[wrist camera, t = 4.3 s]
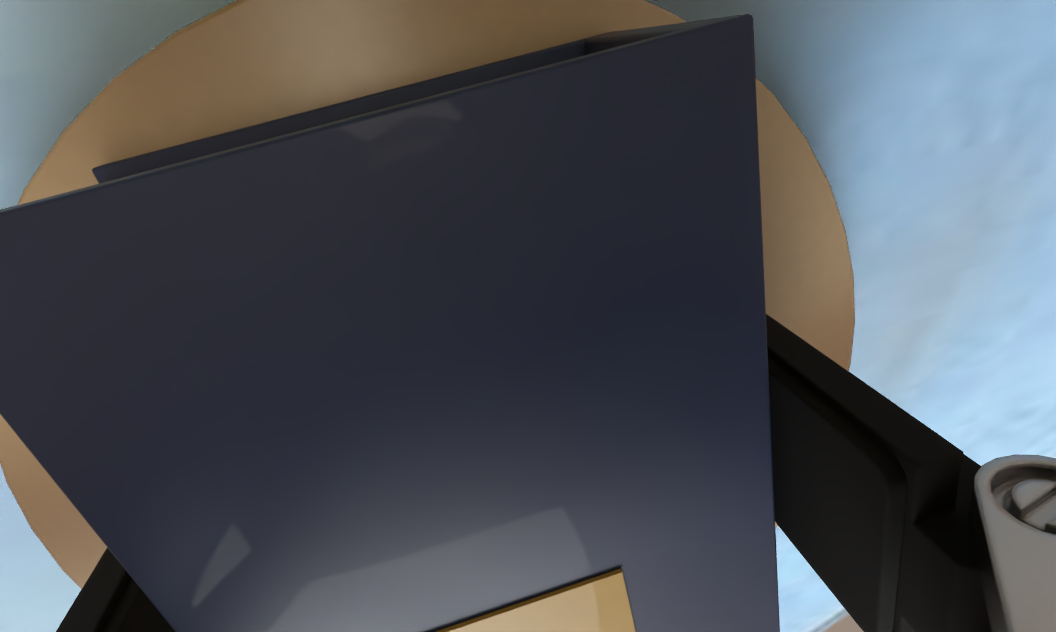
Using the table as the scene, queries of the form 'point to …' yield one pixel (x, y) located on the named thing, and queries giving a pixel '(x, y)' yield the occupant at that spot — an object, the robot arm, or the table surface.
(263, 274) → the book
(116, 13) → the table surface
